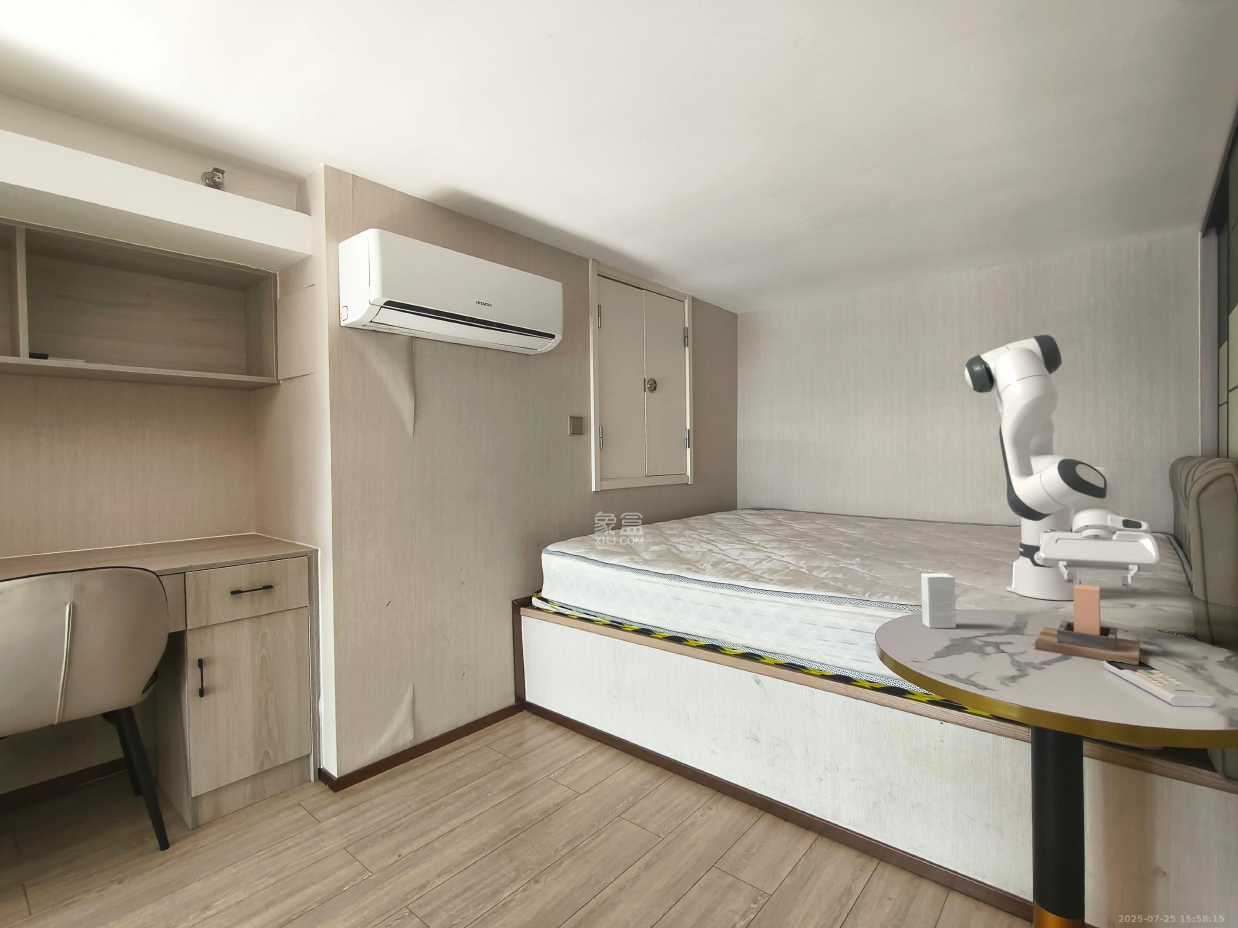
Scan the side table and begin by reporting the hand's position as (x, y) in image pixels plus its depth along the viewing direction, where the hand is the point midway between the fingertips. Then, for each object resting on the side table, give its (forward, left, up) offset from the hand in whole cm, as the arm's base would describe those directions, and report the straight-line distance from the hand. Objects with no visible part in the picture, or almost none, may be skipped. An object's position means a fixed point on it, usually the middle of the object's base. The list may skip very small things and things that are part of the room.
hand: (1097, 583), depth 125 cm
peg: (+5, -1, -11) cm, 12 cm away
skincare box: (+5, -29, -13) cm, 32 cm away
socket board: (+5, -1, -13) cm, 14 cm away
